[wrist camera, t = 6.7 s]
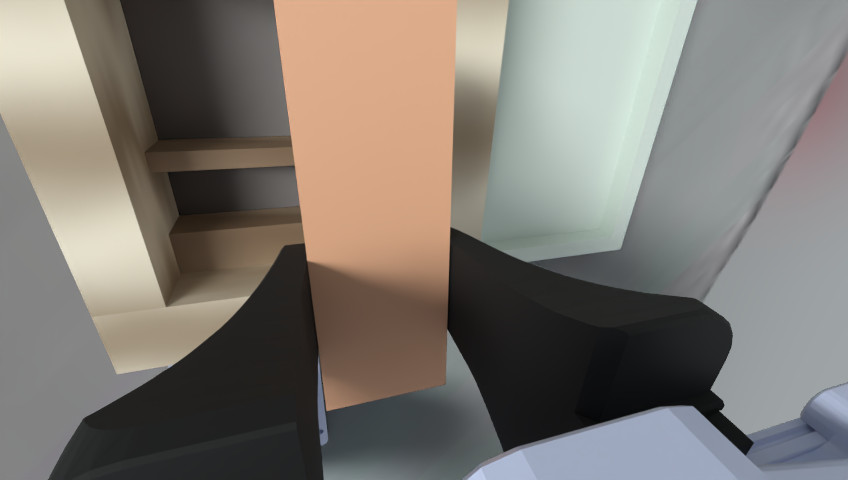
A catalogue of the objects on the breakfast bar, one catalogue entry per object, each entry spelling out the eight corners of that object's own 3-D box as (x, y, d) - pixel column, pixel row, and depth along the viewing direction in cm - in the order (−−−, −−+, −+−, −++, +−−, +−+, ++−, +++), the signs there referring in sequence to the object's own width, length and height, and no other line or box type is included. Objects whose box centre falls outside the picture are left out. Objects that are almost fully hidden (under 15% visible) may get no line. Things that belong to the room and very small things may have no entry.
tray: (602, 236, 27) (620, 249, 26) (452, 255, 24) (463, 270, 23) (680, -47, 20) (713, -53, 18) (478, -71, 17) (497, -80, 15)
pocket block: (443, 270, 25) (471, 314, 21) (148, 308, 20) (117, 374, 17) (471, -119, 16) (528, -163, 12) (-33, -197, 12) (-186, -302, 8)
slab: (417, 327, 15) (445, 384, 12) (320, 345, 14) (326, 411, 11) (416, 16, 11) (457, -1, 8) (277, 10, 10) (272, -10, 7)
